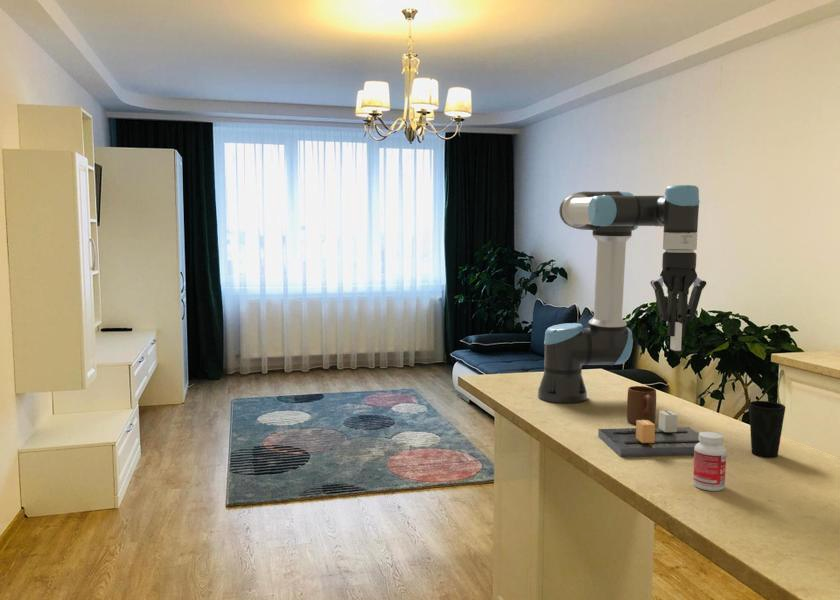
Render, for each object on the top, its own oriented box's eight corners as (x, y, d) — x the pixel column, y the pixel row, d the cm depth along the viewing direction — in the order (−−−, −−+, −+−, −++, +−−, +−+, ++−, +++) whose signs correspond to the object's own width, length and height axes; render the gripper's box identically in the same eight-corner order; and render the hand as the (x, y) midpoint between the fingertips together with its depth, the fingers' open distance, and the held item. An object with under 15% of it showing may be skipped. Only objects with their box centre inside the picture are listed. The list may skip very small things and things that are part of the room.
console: (598, 436, 178) (598, 427, 178) (688, 434, 180) (688, 426, 179) (620, 456, 162) (620, 447, 162) (719, 454, 164) (719, 445, 163)
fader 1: (635, 437, 168) (636, 419, 168) (647, 437, 168) (648, 419, 168) (642, 442, 164) (642, 424, 164) (654, 442, 164) (655, 424, 164)
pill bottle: (725, 493, 140) (727, 440, 138) (692, 489, 142) (695, 437, 141) (724, 483, 145) (726, 432, 144) (692, 479, 148) (694, 429, 146)
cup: (739, 451, 166) (741, 402, 165) (762, 447, 169) (764, 399, 168) (766, 461, 159) (769, 410, 158) (790, 456, 162) (793, 407, 161)
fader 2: (658, 427, 177) (659, 410, 176) (669, 427, 177) (670, 410, 176) (665, 432, 173) (665, 414, 172) (676, 432, 173) (677, 414, 172)
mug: (664, 430, 183) (666, 396, 182) (636, 430, 183) (637, 396, 182) (650, 418, 195) (651, 385, 194) (623, 418, 195) (624, 385, 194)
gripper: (659, 252, 159) (655, 352, 161) (714, 251, 160) (709, 352, 162) (646, 250, 166) (643, 347, 169) (699, 250, 167) (694, 346, 170)
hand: (675, 349), depth 166 cm, fingers closed
